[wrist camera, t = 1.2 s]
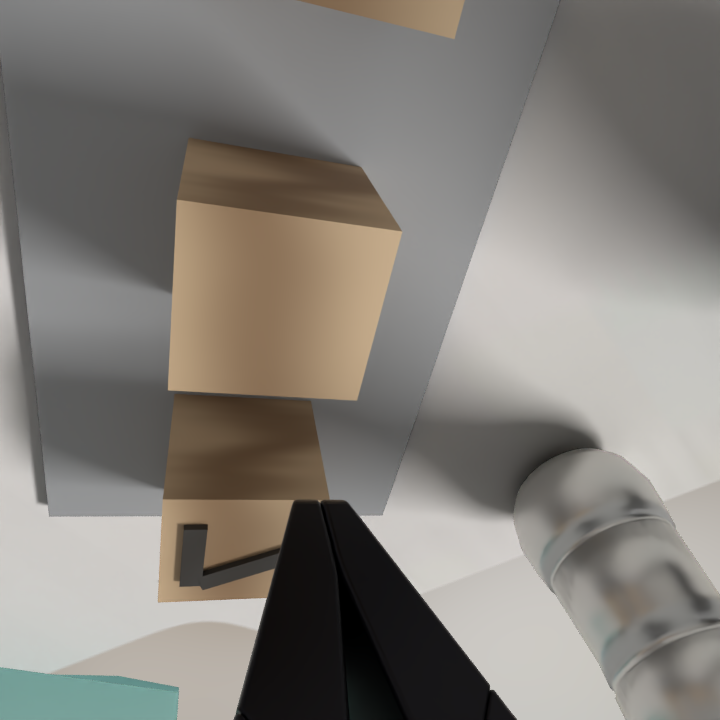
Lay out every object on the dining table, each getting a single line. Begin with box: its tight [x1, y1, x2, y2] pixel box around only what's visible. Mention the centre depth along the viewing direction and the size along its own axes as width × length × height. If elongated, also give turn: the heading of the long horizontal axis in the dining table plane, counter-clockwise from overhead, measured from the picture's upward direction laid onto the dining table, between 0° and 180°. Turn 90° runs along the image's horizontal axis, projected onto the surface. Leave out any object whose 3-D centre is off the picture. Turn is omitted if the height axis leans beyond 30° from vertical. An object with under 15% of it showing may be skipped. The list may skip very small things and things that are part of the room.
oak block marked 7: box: [158, 394, 330, 602], centre depth 21 cm, size 5×5×5 cm
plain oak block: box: [168, 138, 402, 401], centre depth 16 cm, size 5×5×5 cm
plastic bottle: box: [513, 448, 720, 720], centre depth 21 cm, size 6×7×20 cm
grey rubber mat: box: [0, 0, 560, 516], centre depth 18 cm, size 14×26×1 cm, turn 167°
